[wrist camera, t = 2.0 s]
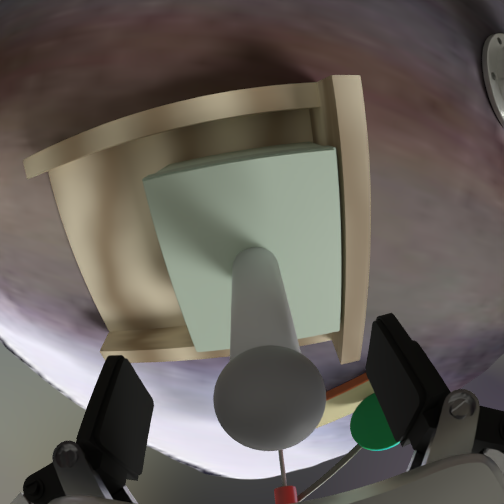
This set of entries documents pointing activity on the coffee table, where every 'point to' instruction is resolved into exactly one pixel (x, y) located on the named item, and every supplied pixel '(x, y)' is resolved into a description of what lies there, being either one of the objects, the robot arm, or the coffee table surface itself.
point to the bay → (186, 148)
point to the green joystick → (256, 277)
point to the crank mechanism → (362, 429)
